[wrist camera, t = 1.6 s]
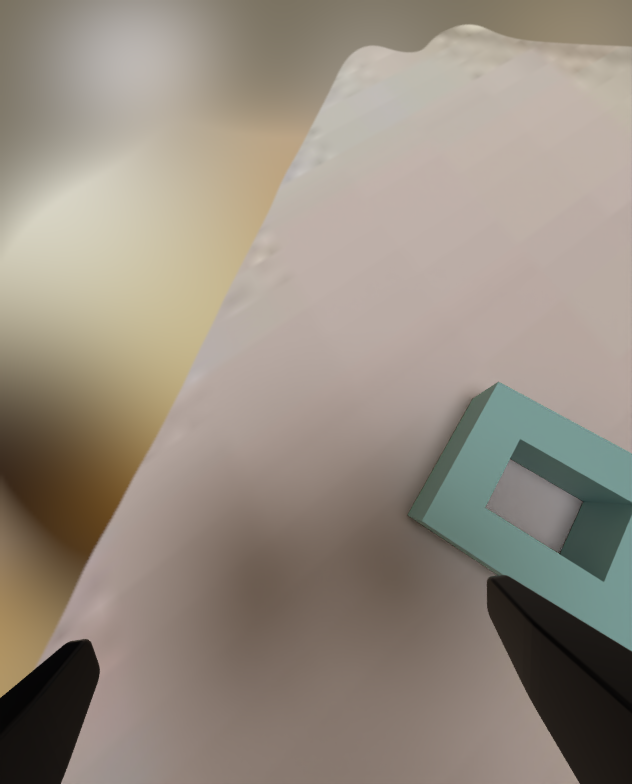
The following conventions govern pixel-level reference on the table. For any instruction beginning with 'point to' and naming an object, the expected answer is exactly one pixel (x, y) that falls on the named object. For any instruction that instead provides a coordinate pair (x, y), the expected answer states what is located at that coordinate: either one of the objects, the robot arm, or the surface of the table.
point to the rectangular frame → (562, 468)
